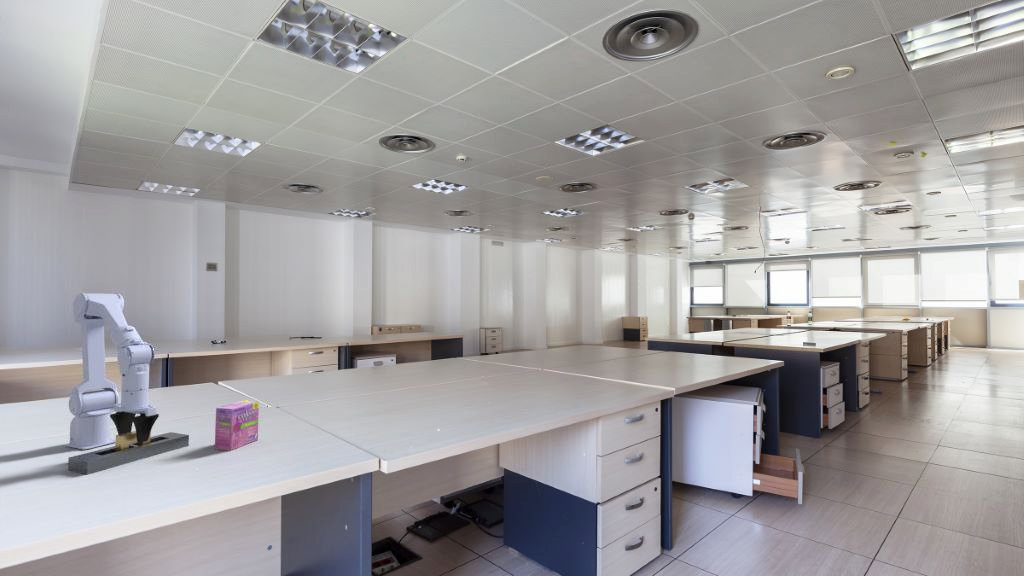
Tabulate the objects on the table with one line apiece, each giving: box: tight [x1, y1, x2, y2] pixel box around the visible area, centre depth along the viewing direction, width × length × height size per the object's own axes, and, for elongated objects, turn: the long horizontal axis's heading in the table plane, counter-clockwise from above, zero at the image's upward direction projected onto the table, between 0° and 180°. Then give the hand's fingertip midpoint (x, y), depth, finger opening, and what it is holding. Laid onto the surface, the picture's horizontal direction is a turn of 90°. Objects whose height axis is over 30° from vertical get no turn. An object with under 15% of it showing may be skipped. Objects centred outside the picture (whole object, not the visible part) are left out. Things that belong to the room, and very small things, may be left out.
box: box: [214, 399, 260, 452], centre depth 134 cm, size 10×6×12 cm, turn 168°
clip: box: [114, 430, 152, 452], centre depth 123 cm, size 2×7×6 cm, turn 159°
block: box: [67, 431, 190, 475], centre depth 123 cm, size 8×24×3 cm, turn 159°
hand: (133, 440), depth 123 cm, fingers open, 7 cm apart
